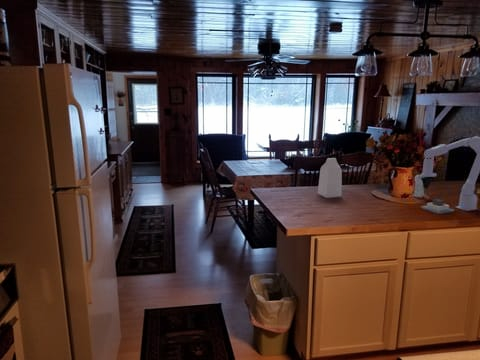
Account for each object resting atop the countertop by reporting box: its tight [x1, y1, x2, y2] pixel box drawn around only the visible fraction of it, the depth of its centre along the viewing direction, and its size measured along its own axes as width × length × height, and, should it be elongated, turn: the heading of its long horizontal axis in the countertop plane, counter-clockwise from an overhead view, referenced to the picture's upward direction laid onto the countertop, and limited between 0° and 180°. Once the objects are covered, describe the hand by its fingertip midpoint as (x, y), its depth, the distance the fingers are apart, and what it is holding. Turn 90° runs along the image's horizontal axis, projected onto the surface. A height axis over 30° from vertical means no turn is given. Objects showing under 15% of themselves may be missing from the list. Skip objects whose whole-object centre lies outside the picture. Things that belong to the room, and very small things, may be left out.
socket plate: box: [420, 201, 456, 215], centre depth 223 cm, size 13×13×4 cm
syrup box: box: [412, 174, 425, 199], centre depth 252 cm, size 6×6×14 cm
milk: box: [317, 157, 343, 199], centre depth 254 cm, size 12×12×26 cm
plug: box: [432, 198, 445, 206], centre depth 223 cm, size 4×4×5 cm
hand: (425, 188), depth 237 cm, fingers closed
